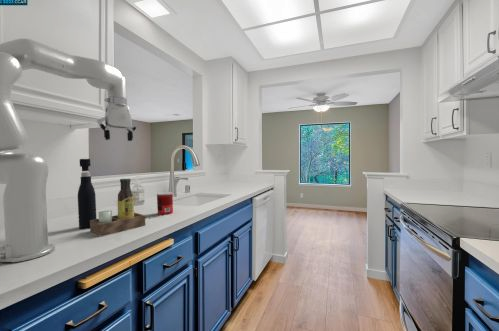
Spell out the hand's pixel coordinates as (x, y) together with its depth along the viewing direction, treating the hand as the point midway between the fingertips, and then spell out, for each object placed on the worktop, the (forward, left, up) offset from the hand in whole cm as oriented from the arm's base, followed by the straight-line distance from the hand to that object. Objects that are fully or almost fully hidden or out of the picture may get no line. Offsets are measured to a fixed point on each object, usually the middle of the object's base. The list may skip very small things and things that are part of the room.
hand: (119, 140), depth 106 cm
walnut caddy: (-5, -8, -38) cm, 39 cm away
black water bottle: (-12, +6, -38) cm, 41 cm away
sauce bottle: (-2, -8, -38) cm, 38 cm away
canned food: (+22, 0, -38) cm, 44 cm away
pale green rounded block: (-10, -8, -38) cm, 40 cm away
